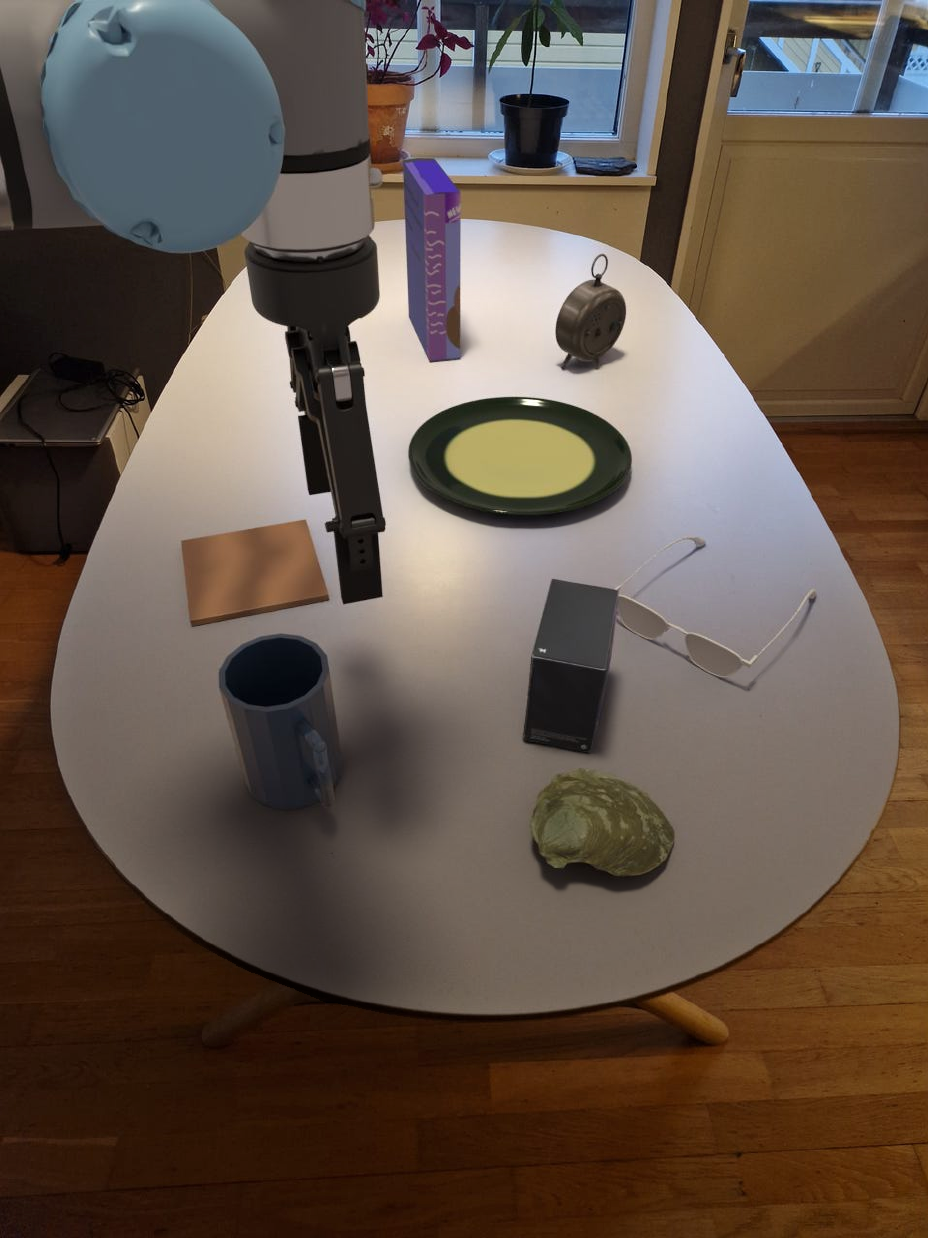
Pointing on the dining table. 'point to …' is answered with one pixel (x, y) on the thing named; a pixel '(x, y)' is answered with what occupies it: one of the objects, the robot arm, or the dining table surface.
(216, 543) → the cork mat
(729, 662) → the eyeglasses
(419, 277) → the cereal box
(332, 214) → the robot arm
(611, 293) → the alarm clock
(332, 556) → the dining table surface
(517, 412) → the plate
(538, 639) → the small box
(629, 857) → the seashell
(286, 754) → the mug
